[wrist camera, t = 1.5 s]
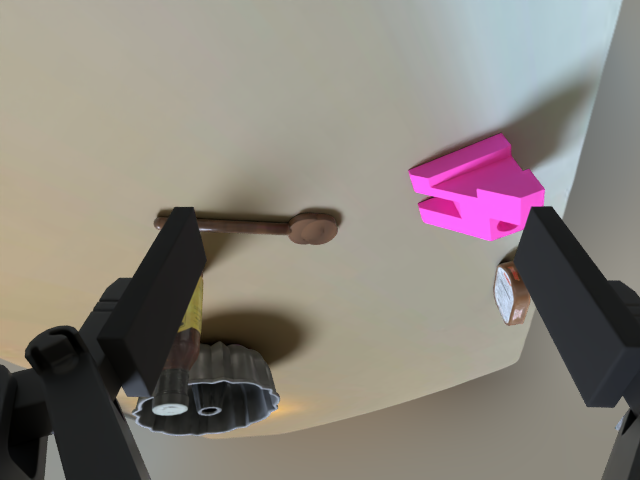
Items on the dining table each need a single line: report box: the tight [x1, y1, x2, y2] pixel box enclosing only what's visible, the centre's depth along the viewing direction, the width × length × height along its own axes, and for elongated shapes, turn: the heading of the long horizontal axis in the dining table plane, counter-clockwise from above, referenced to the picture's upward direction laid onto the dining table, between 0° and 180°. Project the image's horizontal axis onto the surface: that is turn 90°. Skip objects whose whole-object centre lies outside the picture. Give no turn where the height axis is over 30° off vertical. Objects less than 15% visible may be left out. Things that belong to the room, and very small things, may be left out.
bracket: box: [408, 133, 545, 241], centre depth 53 cm, size 12×10×10 cm
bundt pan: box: [132, 341, 280, 436], centre depth 80 cm, size 26×26×10 cm
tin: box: [494, 260, 530, 326], centre depth 75 cm, size 15×3×8 cm, turn 14°
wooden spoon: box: [154, 213, 338, 245], centre depth 55 cm, size 24×5×2 cm, turn 75°
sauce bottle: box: [152, 272, 203, 415], centre depth 54 cm, size 6×6×20 cm
